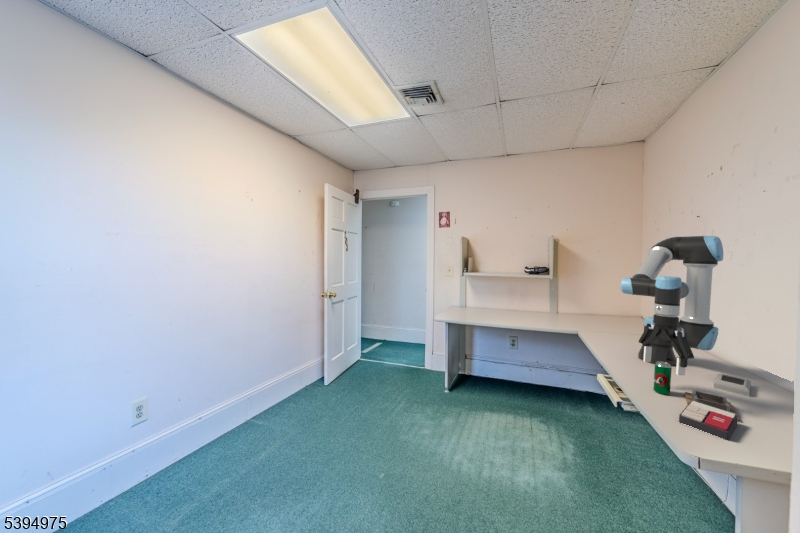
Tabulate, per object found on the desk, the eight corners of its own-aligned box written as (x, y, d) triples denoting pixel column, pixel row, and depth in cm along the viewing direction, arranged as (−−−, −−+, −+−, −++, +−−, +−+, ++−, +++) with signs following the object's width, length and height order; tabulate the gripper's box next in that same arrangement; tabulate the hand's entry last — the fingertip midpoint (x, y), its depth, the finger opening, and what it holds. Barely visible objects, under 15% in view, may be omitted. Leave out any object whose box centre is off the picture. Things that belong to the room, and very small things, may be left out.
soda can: (673, 396, 114) (675, 366, 114) (658, 394, 115) (660, 364, 115) (664, 390, 119) (666, 361, 119) (650, 388, 120) (651, 360, 120)
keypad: (751, 378, 124) (749, 388, 115) (750, 387, 124) (749, 397, 115) (718, 371, 132) (714, 379, 122) (717, 379, 132) (713, 388, 122)
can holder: (684, 394, 116) (685, 385, 116) (729, 404, 108) (730, 395, 108) (688, 409, 105) (689, 399, 104) (739, 422, 97) (739, 412, 97)
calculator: (678, 413, 96) (691, 398, 104) (678, 425, 96) (690, 410, 104) (729, 430, 86) (738, 412, 95) (728, 444, 87) (737, 425, 95)
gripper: (630, 309, 128) (627, 357, 129) (691, 322, 103) (686, 381, 104) (646, 309, 128) (643, 357, 129) (710, 322, 104) (706, 381, 104)
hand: (662, 368), depth 116 cm, fingers open, 13 cm apart
